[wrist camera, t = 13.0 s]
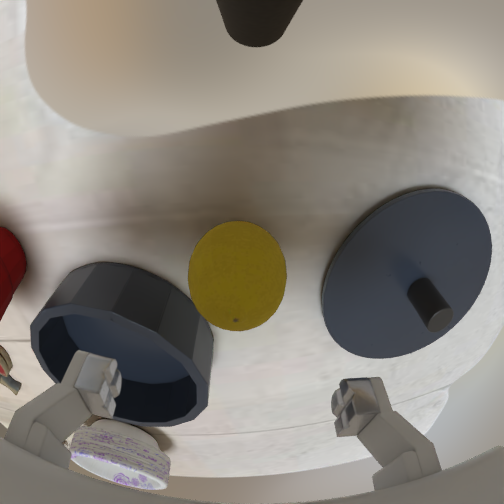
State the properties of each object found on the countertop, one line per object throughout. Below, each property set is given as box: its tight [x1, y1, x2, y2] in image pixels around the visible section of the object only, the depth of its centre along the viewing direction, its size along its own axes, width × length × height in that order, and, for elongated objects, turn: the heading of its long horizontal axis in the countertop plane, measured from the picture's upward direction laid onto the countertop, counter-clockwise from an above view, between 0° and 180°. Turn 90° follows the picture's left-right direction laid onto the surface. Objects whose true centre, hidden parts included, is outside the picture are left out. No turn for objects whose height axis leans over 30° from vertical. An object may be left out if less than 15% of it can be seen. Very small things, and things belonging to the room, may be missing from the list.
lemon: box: [188, 221, 287, 331], centre depth 17 cm, size 6×6×8 cm
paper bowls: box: [69, 419, 171, 490], centre depth 33 cm, size 15×15×8 cm
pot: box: [30, 262, 214, 427], centre depth 23 cm, size 16×16×5 cm
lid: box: [322, 189, 492, 359], centre depth 20 cm, size 17×17×5 cm
